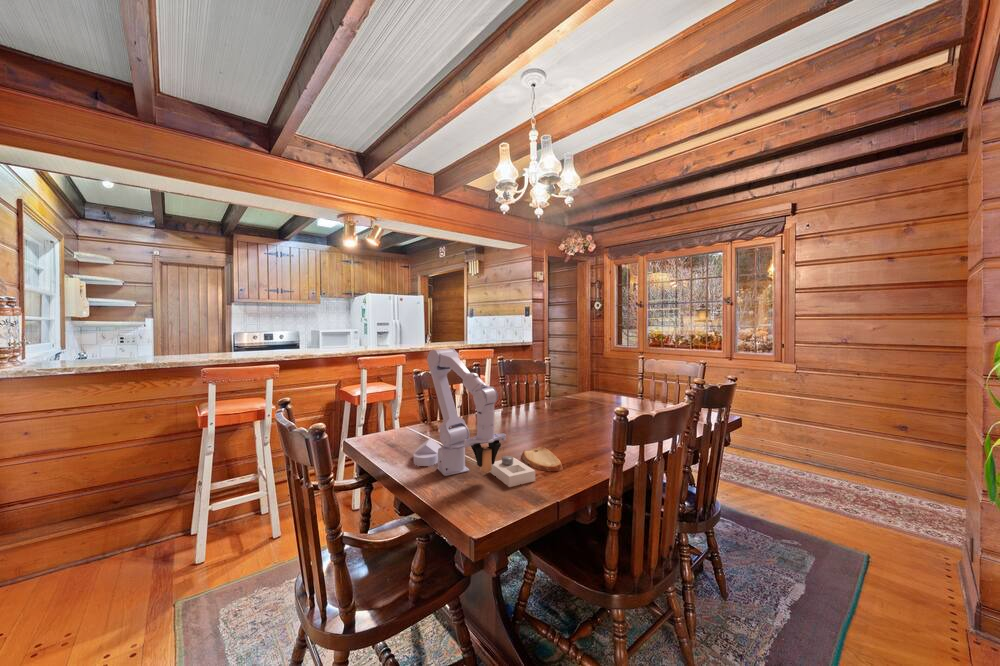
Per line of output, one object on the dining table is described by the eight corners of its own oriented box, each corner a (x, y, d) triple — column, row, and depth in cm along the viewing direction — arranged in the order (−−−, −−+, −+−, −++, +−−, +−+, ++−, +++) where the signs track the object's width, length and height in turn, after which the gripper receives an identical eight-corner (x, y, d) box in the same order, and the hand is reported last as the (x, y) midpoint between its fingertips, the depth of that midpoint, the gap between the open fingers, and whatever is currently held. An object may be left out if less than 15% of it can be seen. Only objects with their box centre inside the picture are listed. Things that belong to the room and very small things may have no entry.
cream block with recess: (509, 487, 125) (509, 470, 124) (489, 472, 137) (489, 456, 137) (535, 481, 129) (535, 464, 129) (514, 466, 142) (514, 452, 141)
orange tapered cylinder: (482, 472, 125) (482, 451, 125) (477, 468, 129) (477, 447, 129) (494, 470, 127) (494, 449, 127) (488, 466, 131) (488, 445, 131)
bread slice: (561, 474, 136) (561, 463, 136) (512, 467, 142) (512, 457, 142) (570, 456, 153) (570, 447, 153) (526, 451, 159) (526, 442, 159)
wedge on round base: (419, 454, 155) (411, 466, 142) (419, 437, 155) (410, 448, 142) (441, 454, 155) (435, 466, 142) (441, 437, 155) (435, 448, 142)
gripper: (470, 430, 121) (470, 472, 121) (510, 424, 127) (510, 464, 128) (461, 424, 127) (461, 465, 127) (500, 419, 134) (500, 457, 134)
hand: (485, 464), depth 128 cm, fingers closed on orange tapered cylinder, 4 cm apart
